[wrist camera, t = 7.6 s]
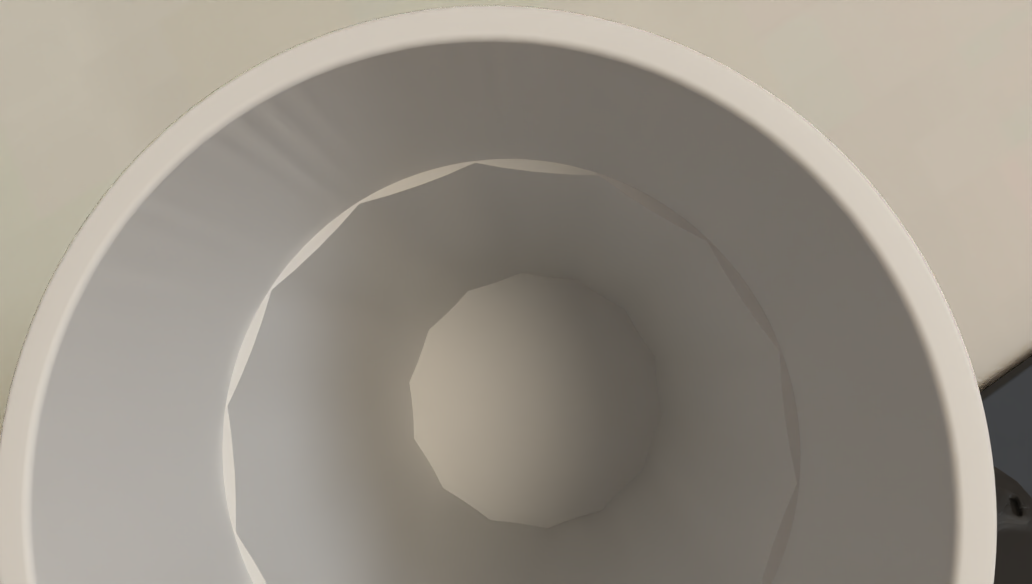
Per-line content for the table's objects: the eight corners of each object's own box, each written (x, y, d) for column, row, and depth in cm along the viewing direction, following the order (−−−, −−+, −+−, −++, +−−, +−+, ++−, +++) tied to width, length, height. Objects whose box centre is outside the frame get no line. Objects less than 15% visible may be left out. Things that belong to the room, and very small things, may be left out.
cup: (655, 199, 18) (835, -107, 6) (739, 520, 17) (1141, 927, 5) (347, 275, 18) (-77, 136, 6) (416, 592, 17) (82, 1126, 5)
